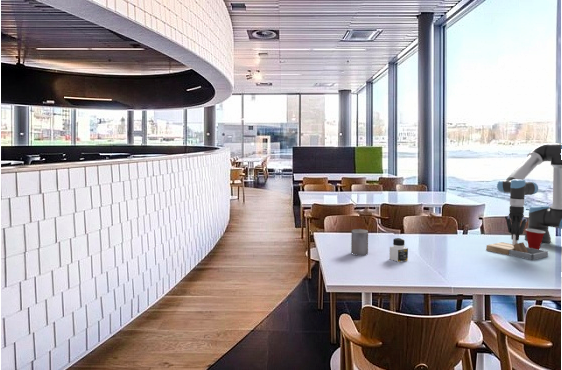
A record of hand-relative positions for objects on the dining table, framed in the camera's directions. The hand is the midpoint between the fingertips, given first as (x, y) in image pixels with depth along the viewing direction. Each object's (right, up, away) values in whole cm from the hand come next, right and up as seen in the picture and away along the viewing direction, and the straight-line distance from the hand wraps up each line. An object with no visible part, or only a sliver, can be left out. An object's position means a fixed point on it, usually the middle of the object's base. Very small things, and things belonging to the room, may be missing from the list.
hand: (514, 245), depth 267 cm
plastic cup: (+17, -4, +9) cm, 20 cm away
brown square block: (+1, -2, -2) cm, 3 cm away
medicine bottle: (-73, -6, -16) cm, 75 cm away
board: (-3, -4, +5) cm, 7 cm away
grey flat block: (+4, -5, -6) cm, 9 cm away
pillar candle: (-92, -5, -2) cm, 92 cm away
